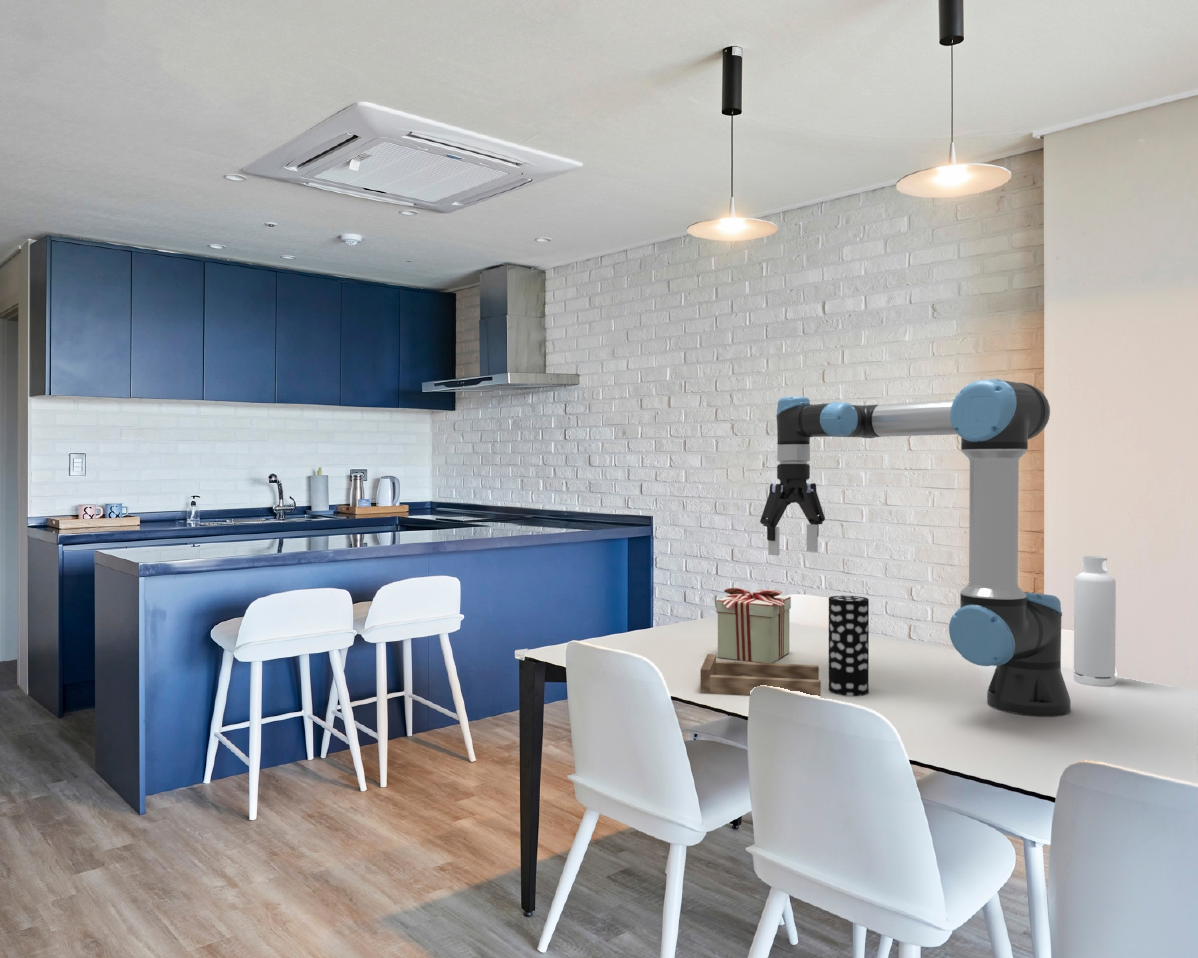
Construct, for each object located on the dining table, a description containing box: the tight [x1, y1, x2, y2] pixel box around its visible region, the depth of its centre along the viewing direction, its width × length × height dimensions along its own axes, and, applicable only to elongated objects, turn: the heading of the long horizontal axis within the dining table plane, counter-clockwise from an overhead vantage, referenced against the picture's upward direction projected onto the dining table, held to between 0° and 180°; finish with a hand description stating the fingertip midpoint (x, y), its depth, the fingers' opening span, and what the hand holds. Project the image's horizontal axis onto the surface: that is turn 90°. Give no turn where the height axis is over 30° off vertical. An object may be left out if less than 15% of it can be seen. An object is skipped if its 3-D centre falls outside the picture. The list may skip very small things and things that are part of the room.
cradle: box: [699, 653, 822, 697], centre depth 195 cm, size 25×16×5 cm, turn 78°
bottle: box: [1073, 555, 1117, 687], centre depth 199 cm, size 8×8×28 cm
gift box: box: [715, 587, 792, 663], centre depth 226 cm, size 17×18×17 cm
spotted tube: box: [828, 595, 870, 697], centre depth 191 cm, size 8×8×20 cm
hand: (793, 553), depth 209 cm, fingers open, 13 cm apart
